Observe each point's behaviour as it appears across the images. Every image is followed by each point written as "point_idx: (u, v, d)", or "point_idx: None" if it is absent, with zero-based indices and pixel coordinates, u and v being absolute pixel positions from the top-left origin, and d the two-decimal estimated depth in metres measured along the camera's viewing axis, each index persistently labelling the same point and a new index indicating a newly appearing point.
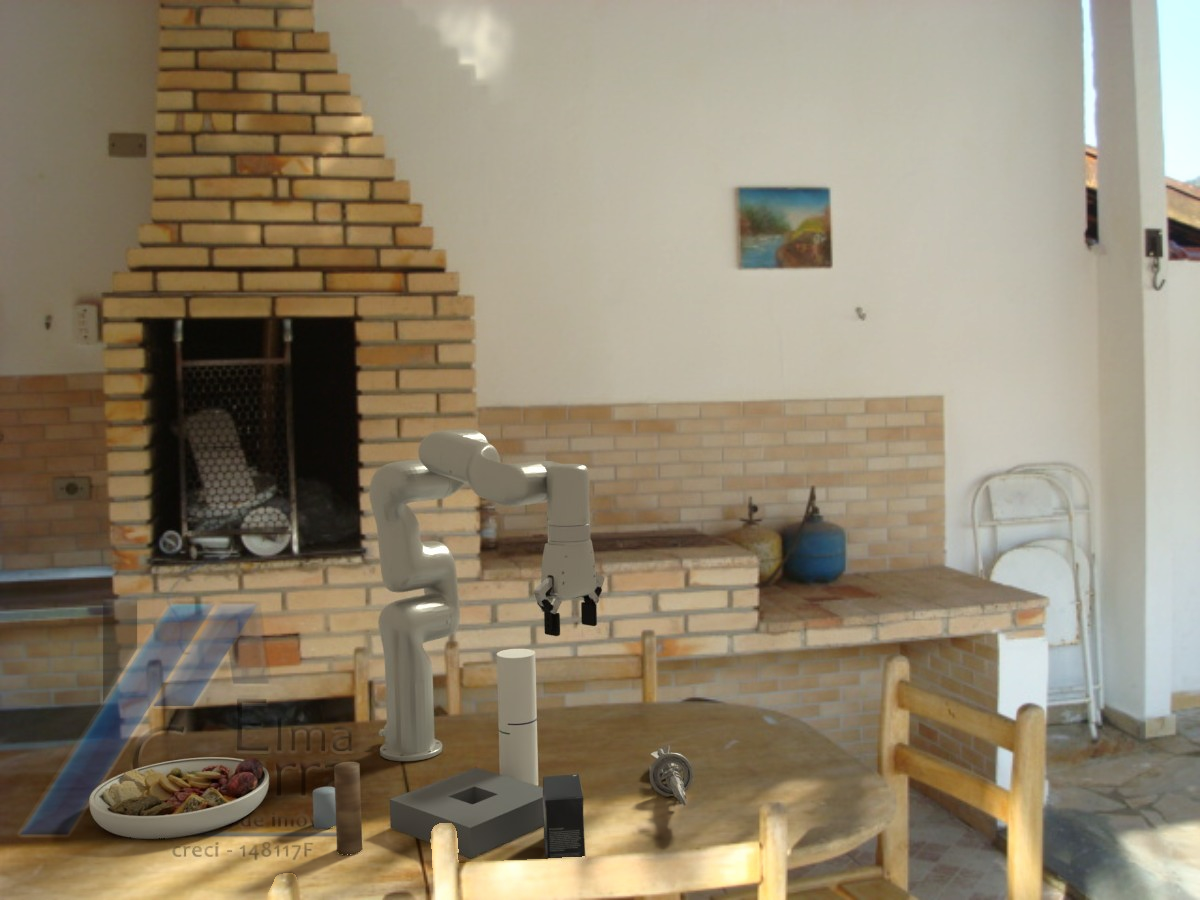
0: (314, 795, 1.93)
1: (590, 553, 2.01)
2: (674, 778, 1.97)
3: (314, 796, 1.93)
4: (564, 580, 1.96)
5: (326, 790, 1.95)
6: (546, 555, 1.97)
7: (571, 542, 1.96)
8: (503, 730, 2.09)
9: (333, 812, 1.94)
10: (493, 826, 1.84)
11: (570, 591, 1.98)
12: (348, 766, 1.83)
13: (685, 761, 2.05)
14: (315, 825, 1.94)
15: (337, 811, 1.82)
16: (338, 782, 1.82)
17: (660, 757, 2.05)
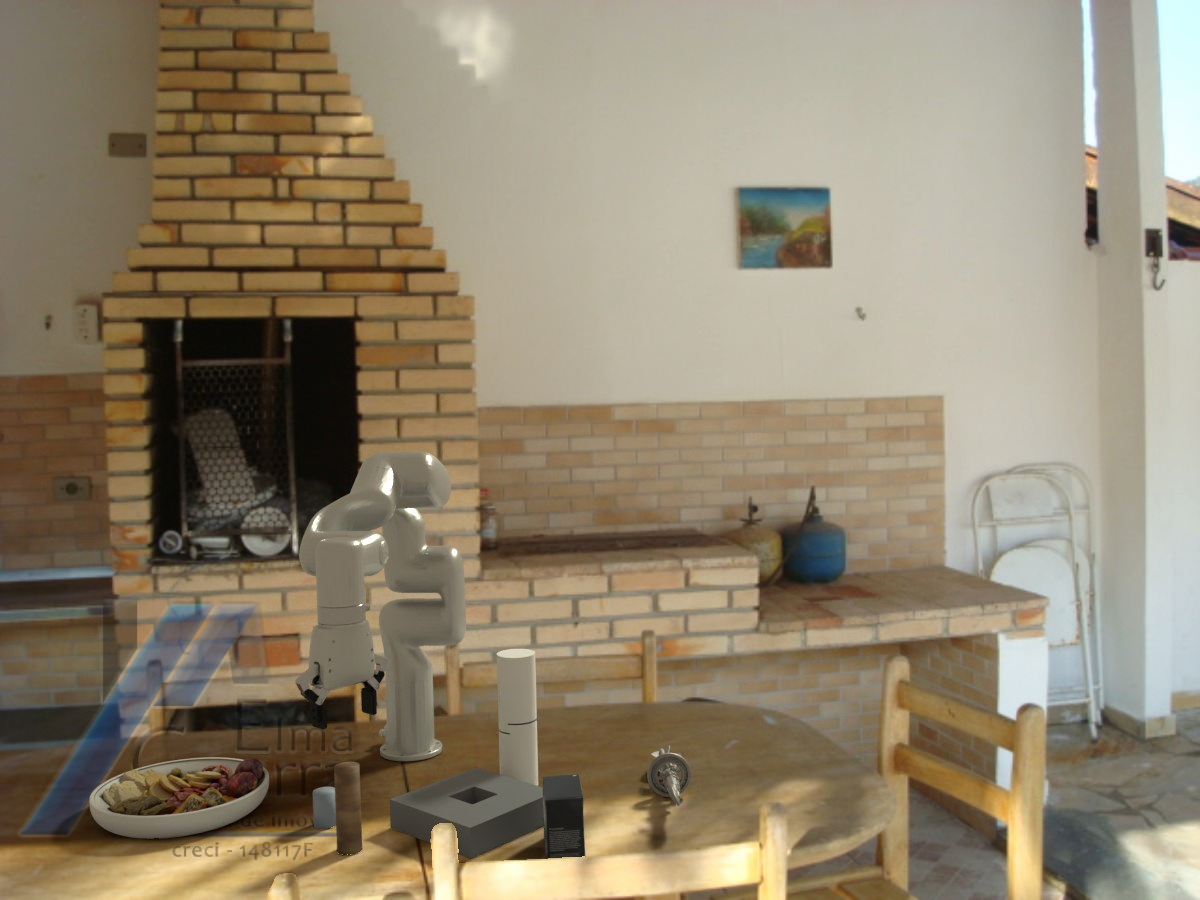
0: (314, 795, 1.93)
1: (366, 636, 1.83)
2: (670, 778, 1.97)
3: (314, 796, 1.93)
4: (331, 667, 1.78)
5: (326, 790, 1.95)
6: (313, 639, 1.79)
7: (339, 625, 1.78)
8: (503, 730, 2.09)
9: (333, 812, 1.94)
10: (493, 826, 1.84)
11: (340, 679, 1.79)
12: (348, 766, 1.83)
13: (683, 761, 2.05)
14: (315, 825, 1.94)
15: (337, 811, 1.82)
16: (338, 782, 1.82)
17: (658, 757, 2.05)
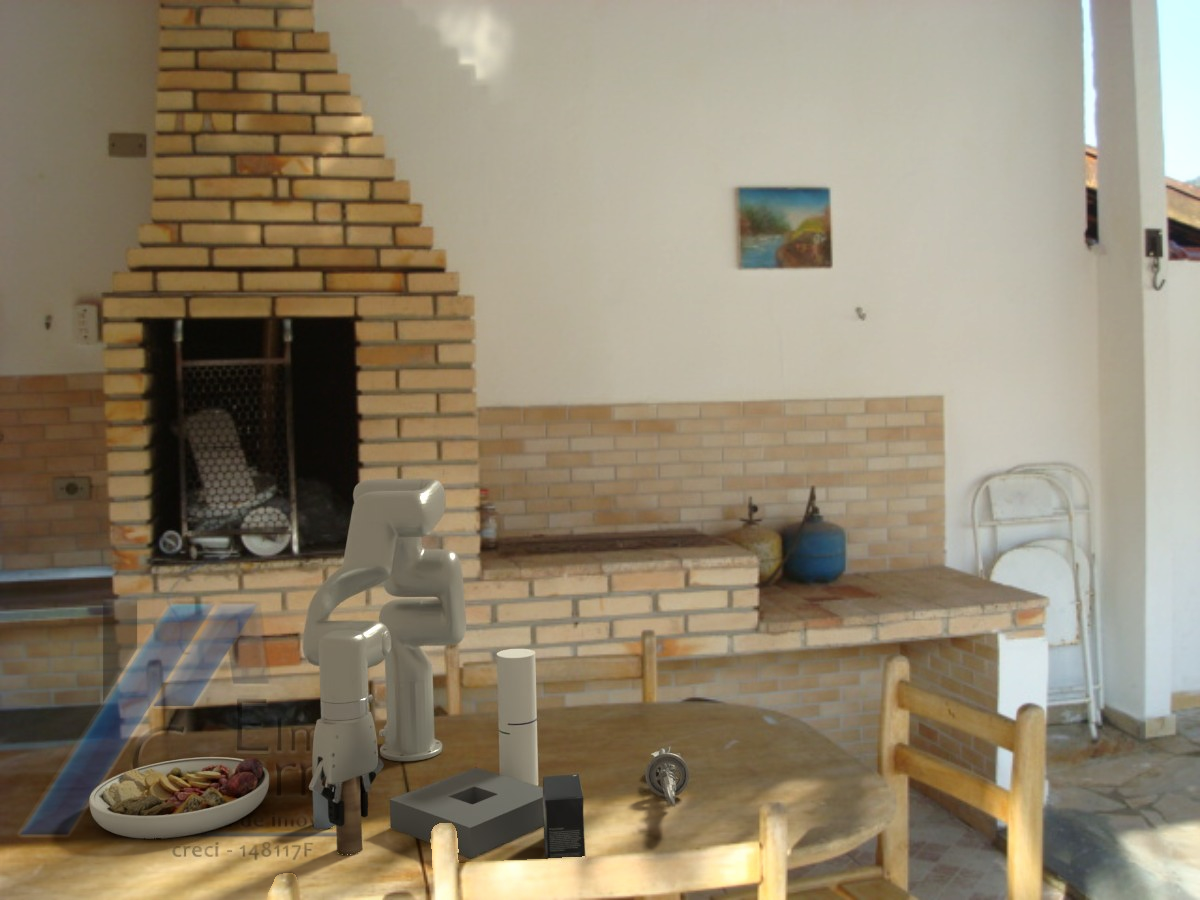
0: (314, 795, 1.93)
1: (369, 729, 1.84)
2: (667, 778, 1.97)
3: (314, 796, 1.93)
4: (335, 763, 1.79)
5: None
6: (316, 734, 1.80)
7: (342, 720, 1.79)
8: (503, 730, 2.09)
9: None
10: (493, 826, 1.84)
11: (343, 773, 1.80)
12: None
13: (681, 762, 2.05)
14: (315, 825, 1.94)
15: None
16: None
17: (656, 757, 2.05)
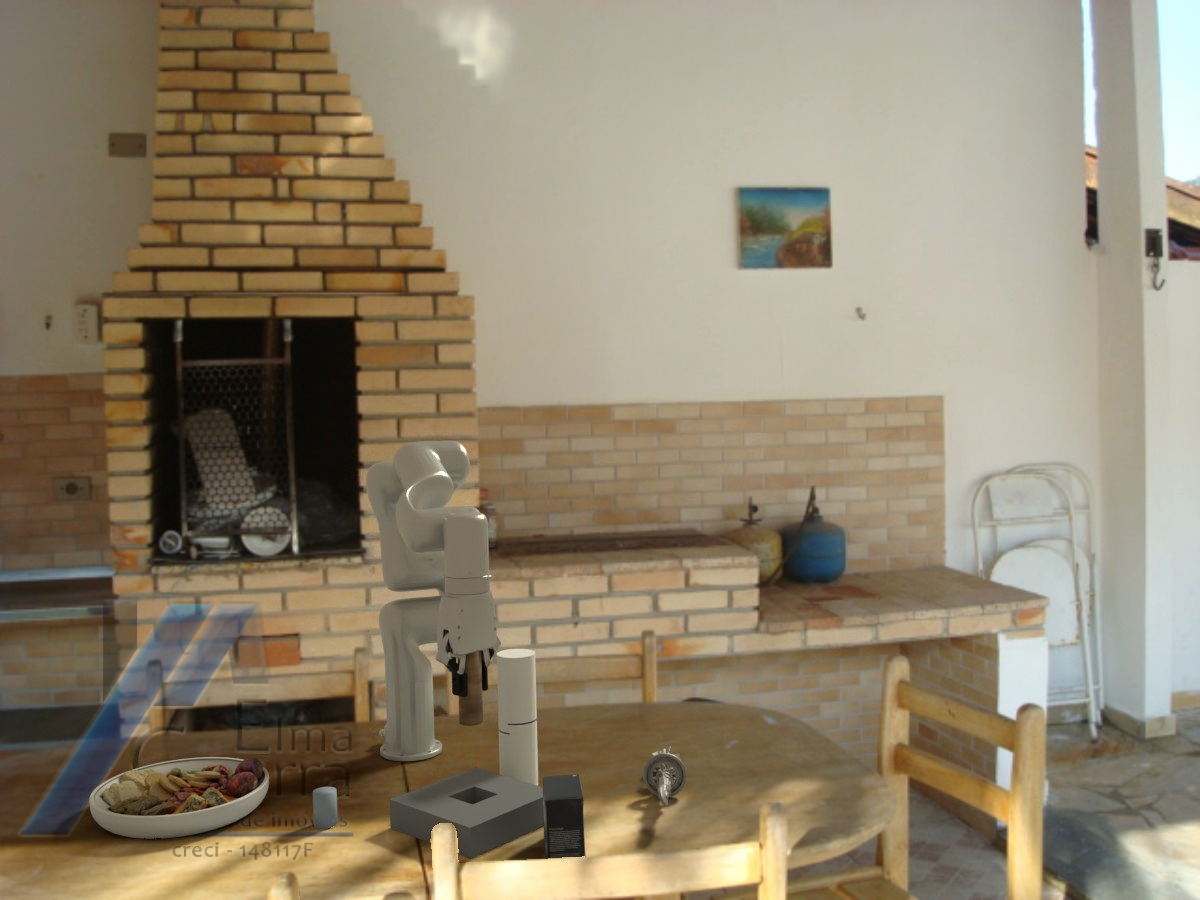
0: (314, 795, 1.93)
1: (490, 605, 1.92)
2: (662, 778, 1.97)
3: (314, 796, 1.93)
4: (460, 635, 1.88)
5: (326, 790, 1.95)
6: (442, 608, 1.89)
7: (467, 595, 1.88)
8: (503, 730, 2.09)
9: (333, 812, 1.94)
10: (493, 826, 1.84)
11: (467, 645, 1.89)
12: None
13: (679, 762, 2.05)
14: (315, 825, 1.94)
15: None
16: None
17: (653, 757, 2.05)
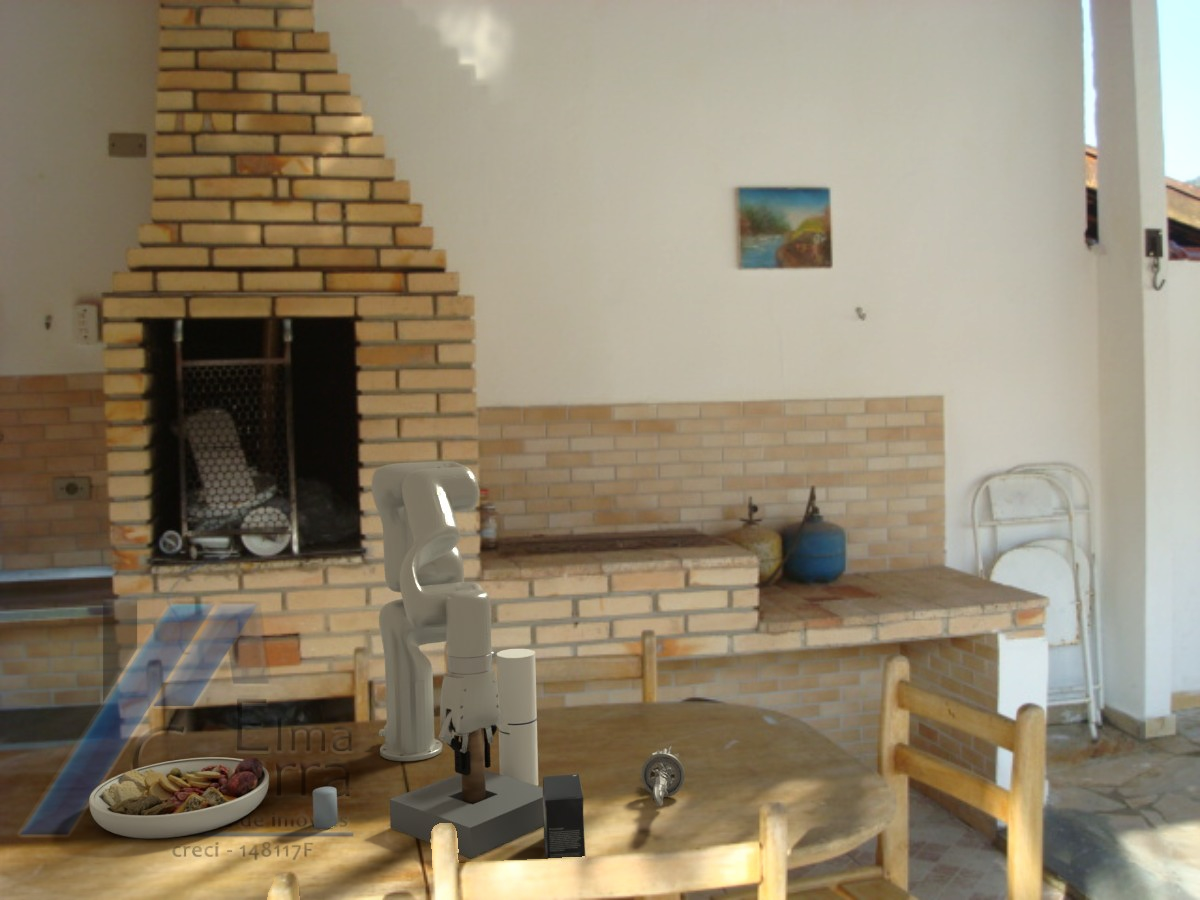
0: (314, 795, 1.93)
1: (492, 683, 1.93)
2: (658, 778, 1.97)
3: (314, 796, 1.93)
4: (463, 714, 1.88)
5: (326, 790, 1.95)
6: (444, 687, 1.90)
7: (470, 674, 1.89)
8: (503, 730, 2.09)
9: (333, 812, 1.94)
10: (493, 826, 1.84)
11: (470, 724, 1.90)
12: None
13: (676, 762, 2.05)
14: (315, 825, 1.94)
15: None
16: None
17: (651, 757, 2.05)
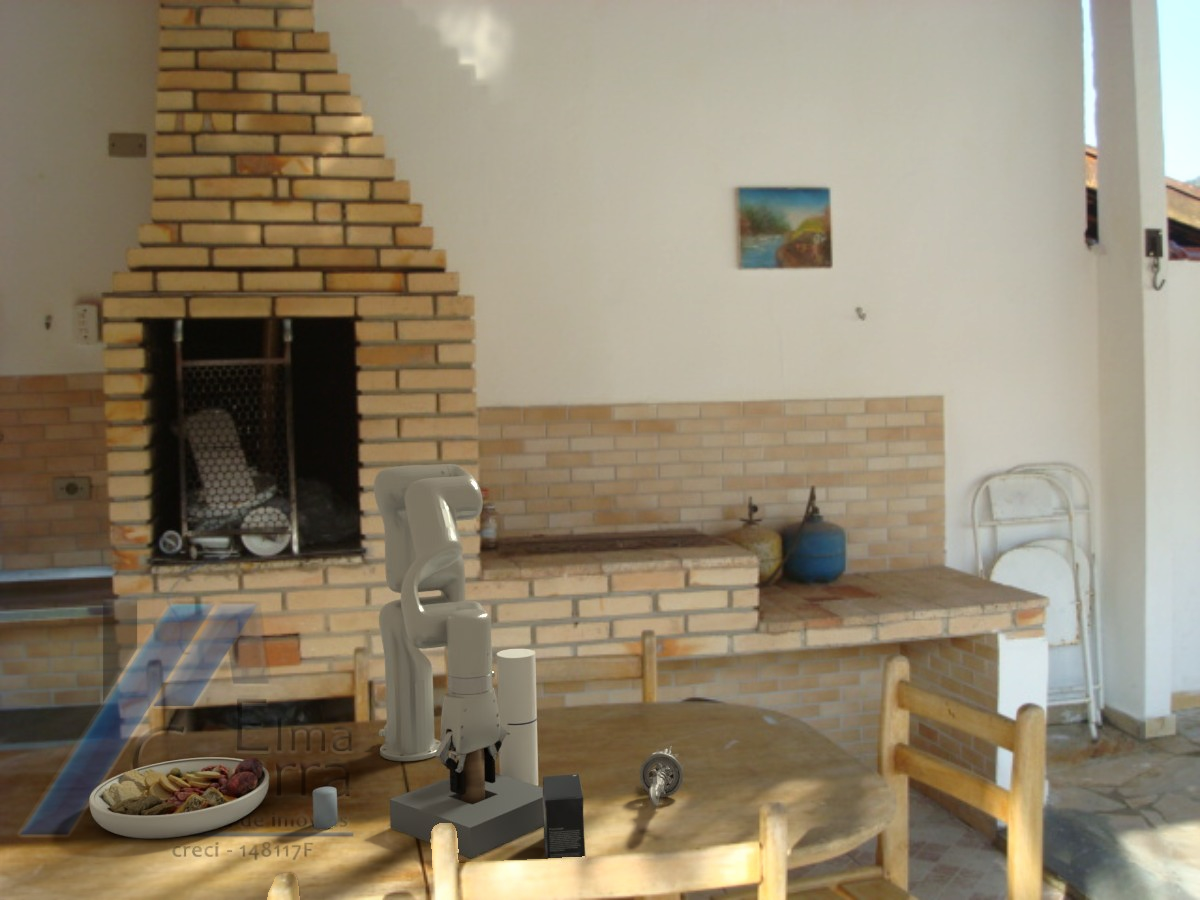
0: (314, 795, 1.93)
1: (493, 703, 1.94)
2: (655, 778, 1.98)
3: (314, 796, 1.93)
4: (463, 734, 1.89)
5: (326, 790, 1.95)
6: (445, 707, 1.90)
7: (470, 694, 1.89)
8: None
9: (333, 812, 1.94)
10: (493, 826, 1.84)
11: (470, 744, 1.90)
12: None
13: (675, 762, 2.05)
14: (315, 825, 1.94)
15: None
16: (465, 759, 1.92)
17: (650, 757, 2.05)
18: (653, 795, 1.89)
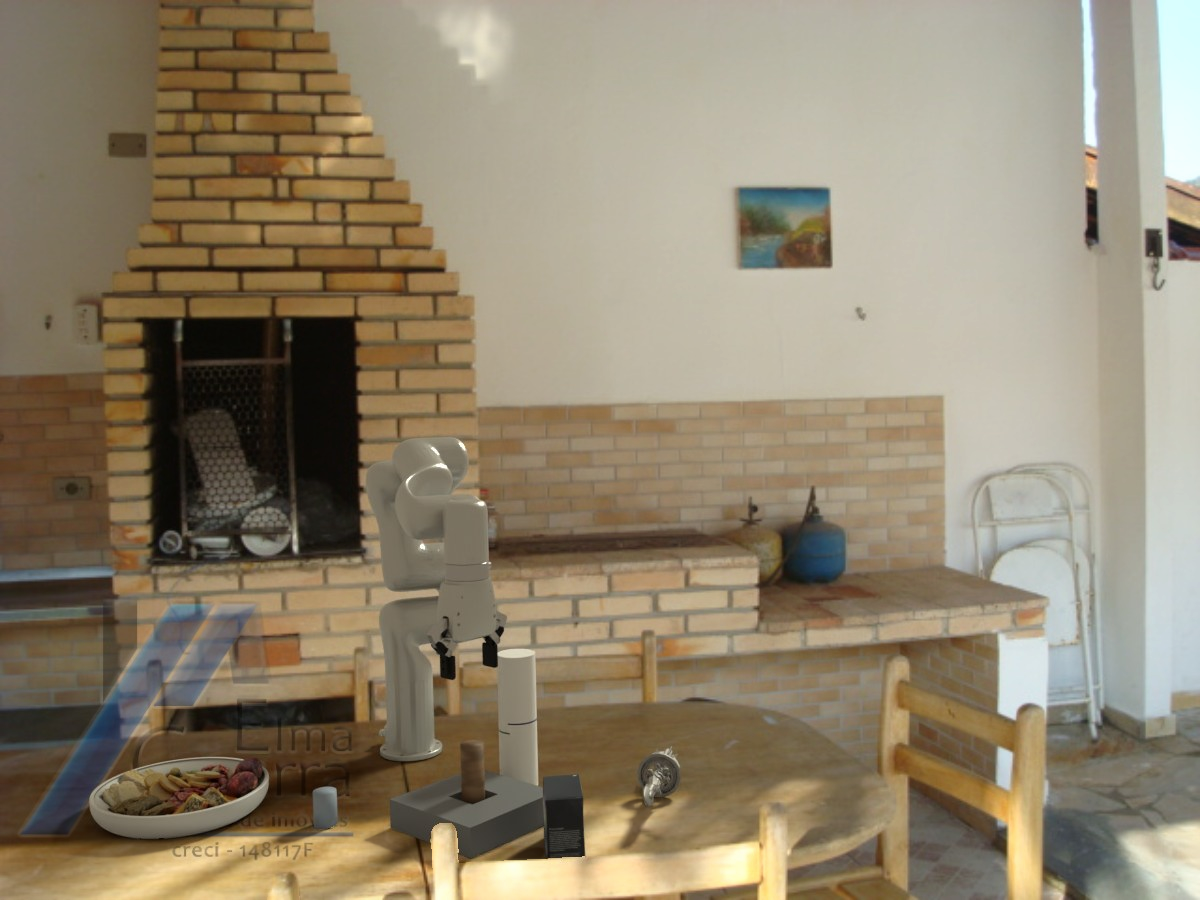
0: (314, 795, 1.93)
1: (489, 592, 1.92)
2: (651, 778, 1.98)
3: (314, 796, 1.93)
4: (460, 621, 1.88)
5: (326, 790, 1.95)
6: (441, 595, 1.89)
7: (467, 581, 1.88)
8: (503, 730, 2.09)
9: (333, 812, 1.94)
10: (493, 826, 1.84)
11: (467, 632, 1.89)
12: (473, 744, 1.93)
13: (673, 762, 2.04)
14: (315, 825, 1.94)
15: (463, 786, 1.92)
16: (465, 759, 1.92)
17: (648, 756, 2.05)
18: (646, 795, 1.89)
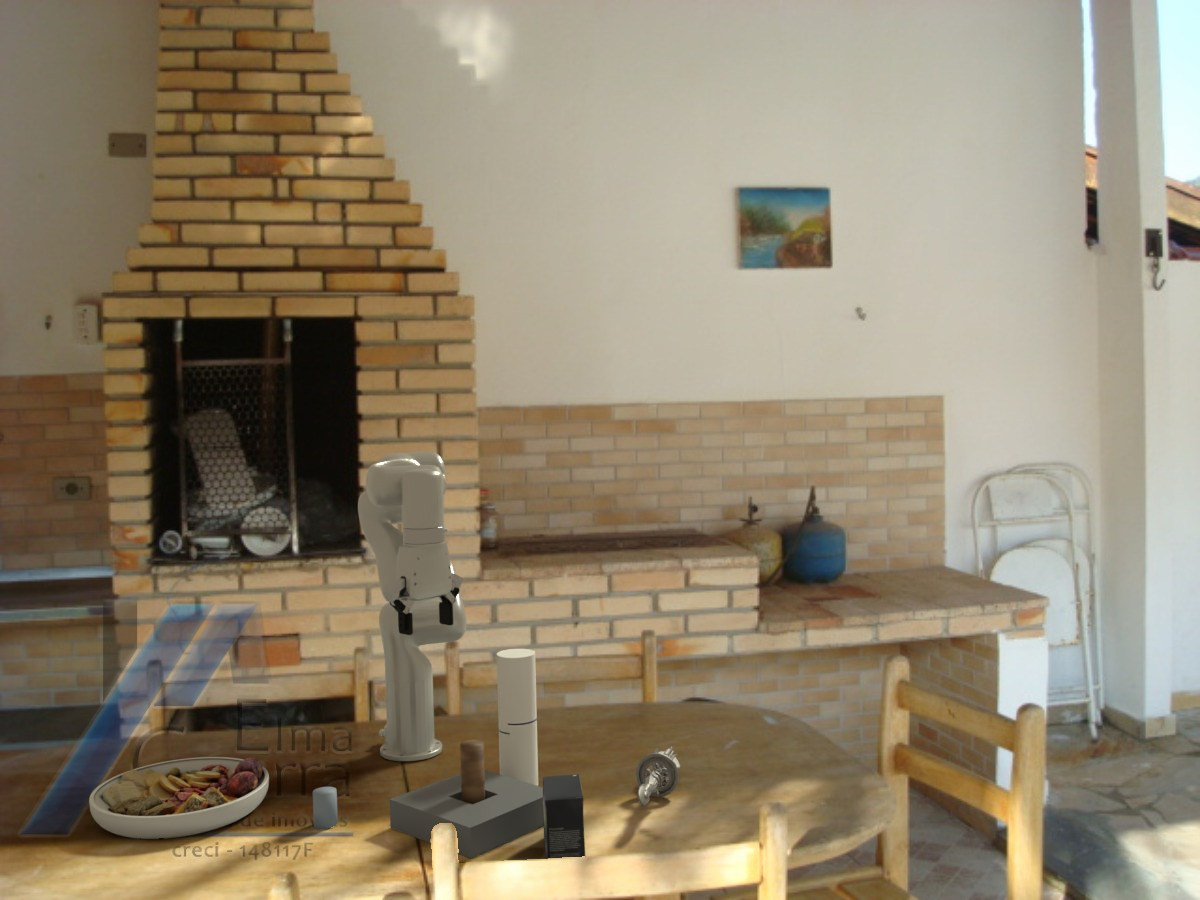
0: (314, 795, 1.93)
1: (445, 555, 2.08)
2: (648, 778, 1.98)
3: (314, 796, 1.93)
4: (416, 581, 2.03)
5: (326, 790, 1.95)
6: (400, 557, 2.05)
7: (423, 544, 2.04)
8: (503, 730, 2.09)
9: (333, 812, 1.94)
10: (493, 826, 1.84)
11: (423, 591, 2.05)
12: (473, 744, 1.93)
13: (671, 762, 2.04)
14: (315, 825, 1.94)
15: (463, 786, 1.92)
16: (465, 759, 1.92)
17: (646, 756, 2.05)
18: (641, 795, 1.89)
